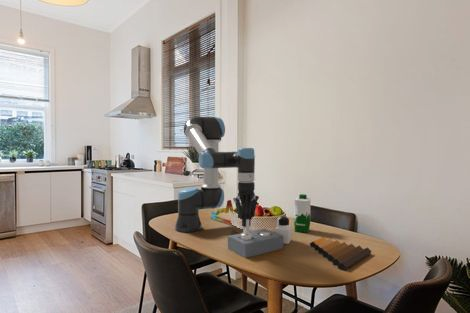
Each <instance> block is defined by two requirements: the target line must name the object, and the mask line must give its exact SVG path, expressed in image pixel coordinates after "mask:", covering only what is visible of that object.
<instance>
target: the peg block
mask: <svg viewBox="0 0 470 313" xmlns="http://www.w3.org/2000/svg"><path fill="white" fill-rule="evenodd" d="M261 232H268V233H270V235H268V236H262V235H260V233H261ZM241 233H242V232H240V233H236V234H231V235H227V249H228V250H230V251H231V252H234V253H235V254H237V255H238V256H241V257H242V258H245V259H247V258H252V257H255V256H259V255H262V254H267V253H270V252H274V251H277V250H283V249H284V243H283V237H284V236H283V235H280V234H278V233H275V231H271V230H269V229H266V228H262V229H256V230H252V231H249V233H251V234H252V239H250V240H242V239H241Z"/></svg>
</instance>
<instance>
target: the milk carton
mask: <svg viewBox="0 0 470 313" xmlns="http://www.w3.org/2000/svg"><path fill="white" fill-rule="evenodd" d="M293 202H294V203H293V205H294V206H293V220H294V221H293V224H294V226H293V227H294V232H297V233H308V232H309V230H310V227H311V226H310V225H311V198H309V197H307V194H304V193H303V194H302V193H301V194H299V197H296V198H295V199H294V200H293Z"/></svg>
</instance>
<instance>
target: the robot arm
mask: <svg viewBox="0 0 470 313" xmlns="http://www.w3.org/2000/svg"><path fill="white" fill-rule="evenodd" d="M183 133H184V136H185V137H186V139H187V140H189V141H190V142H191V143H192V145H193V146H194V148H195V150H196V151H197V154H198V165H199V168H201V169H203V183H202V184H201V185H200V189H199V187H198V186H197V187H196V186H194V187H193V186H192V187H185V188H181V189H180V190H179V191H178V193H177V218H176V221H175V224H174V225H175V226H174V230H175V231H176V232H181V233H192V232H197V231H201V230H202V226H203V225H202V222H201V219H200V216H199V213H200V212H199V210H211V209H212V210H214V209H220V208H221V207H222V206H223V204H224V201H225V193H224V192H225V191H224V189H223V188H222V187H221V184H220V183H219V169H229V168H231V169H232V168H235V169H237V181H238V183H237V190H238V193H237V196H236V197H233V198H232V199H233V202H234V203H235V209H236V212H237V214H238V218H240V219H241V220H242V222H241V224H242V226H243V228H242V230H243V231H242V233H245V234H249V232H250V226H251V224H252V222H251V220H252V219H253V218H254V217H255V215H256V208H257V204H258V200H259V199H260V198H259V195H256V194H255V189H256V188H255V186H256V185H255V182H254V181H255V170H256V168H255V163H256V162H255V158H256V155H255V148H252V147H238V149H237V151H219V149H220V148H219V144H220V142H221V141H222V138H223V137H225V134H226V125H225V122H224V120H223V119H222V118H221V117H217V116H216V117H215V116H197V115H196V116H193V117H191V118H189V119H187V121H186V122H185V124H184V125H183Z"/></svg>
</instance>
